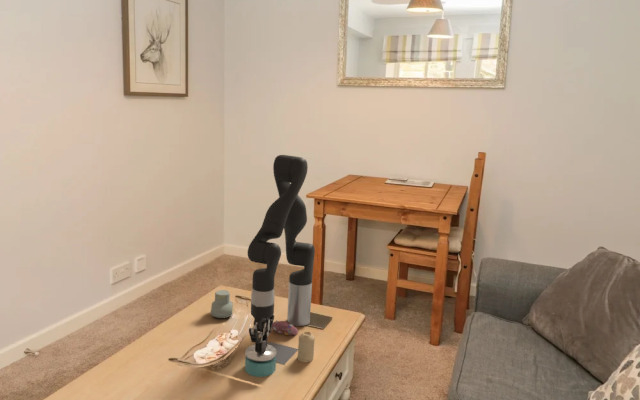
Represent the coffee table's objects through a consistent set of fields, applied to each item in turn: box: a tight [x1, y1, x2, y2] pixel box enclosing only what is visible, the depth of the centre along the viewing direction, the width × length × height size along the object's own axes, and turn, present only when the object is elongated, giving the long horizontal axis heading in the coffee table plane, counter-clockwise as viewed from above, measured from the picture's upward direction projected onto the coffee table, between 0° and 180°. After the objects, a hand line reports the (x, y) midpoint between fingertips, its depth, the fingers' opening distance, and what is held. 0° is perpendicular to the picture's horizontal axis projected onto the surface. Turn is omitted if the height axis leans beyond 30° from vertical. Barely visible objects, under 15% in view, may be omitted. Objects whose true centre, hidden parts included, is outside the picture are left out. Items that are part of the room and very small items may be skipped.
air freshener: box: [210, 289, 234, 319], centre depth 212 cm, size 11×8×10 cm
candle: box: [297, 331, 315, 363], centre depth 181 cm, size 6×6×10 cm
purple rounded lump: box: [272, 320, 299, 336], centre depth 199 cm, size 10×5×7 cm, turn 69°
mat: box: [267, 341, 298, 366], centre depth 185 cm, size 12×12×1 cm
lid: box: [244, 337, 277, 362], centre depth 172 cm, size 10×10×5 cm
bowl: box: [244, 356, 277, 378], centre depth 174 cm, size 10×10×5 cm
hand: (261, 349), depth 172 cm, fingers closed on lid, 3 cm apart
